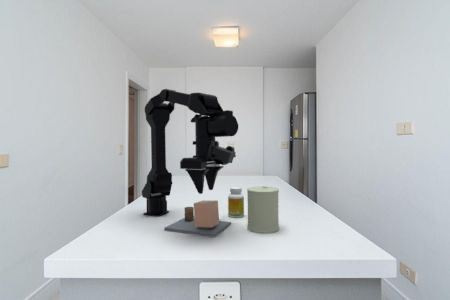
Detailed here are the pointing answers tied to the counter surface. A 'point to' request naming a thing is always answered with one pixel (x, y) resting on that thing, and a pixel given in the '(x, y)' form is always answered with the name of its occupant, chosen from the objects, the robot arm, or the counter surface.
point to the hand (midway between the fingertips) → (206, 191)
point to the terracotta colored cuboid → (206, 213)
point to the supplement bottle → (236, 203)
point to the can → (263, 209)
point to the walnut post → (189, 214)
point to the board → (197, 228)
